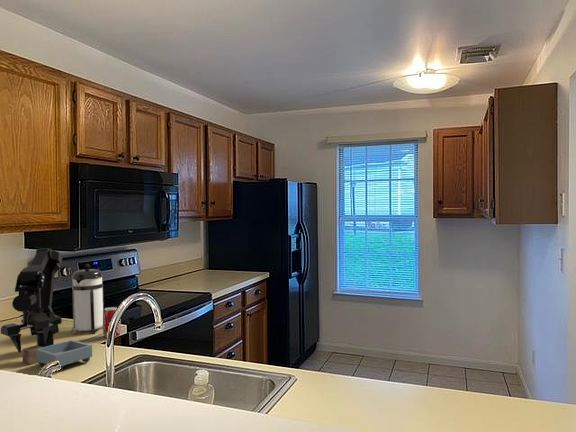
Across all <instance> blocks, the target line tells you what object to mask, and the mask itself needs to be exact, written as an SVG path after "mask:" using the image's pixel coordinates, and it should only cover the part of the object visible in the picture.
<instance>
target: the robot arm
mask: <svg viewBox="0 0 576 432" xmlns="http://www.w3.org/2000/svg"><path fill="white" fill-rule="evenodd" d="M62 262H63V256H62V254H61V253H60V251H56V250H53V249H52V248H45V247H44V248H38V249H36V251H35V255H34V257H33V259H32V261H31V262H30V264H29V266H26V267H24V268H23V269H21V271H20V272H19V274H17V277H16V282H15V283H16V284H15V288H14V293H15V292H16V293H18V295H16V296H15V297H13V300H12V303H11V304H12V305H11V306H12V307H13V309H14V310H16V311H17V312H22V319H21V320H20V322H21V324H20V323H19V324H17V323H14V322H13V323H8V324H4V325H2V326H1V327H0V335H4V336H6V337H9V339H10V340H11V341H12V343H13V345H14V347H15V348H16V350H17V352H18V353H22V344H21V336H22V333H20V332H21V331H22V330H25V329H26V330H27V329H29V330H30V334H31V336H36V345H38V346H41V347H46V346H50V345H54V344H55V341H54V335H55V334H58V333H59V331H60V329H59V325H61V324H63V319H62V316H60V315H57V314H55V312H54V311H53V309H52V305H53V304H52V303H53V296H54V294H53V292H54V286H55V275H56V274H57V272H59V270H60V268H61V264H62Z"/></svg>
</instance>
